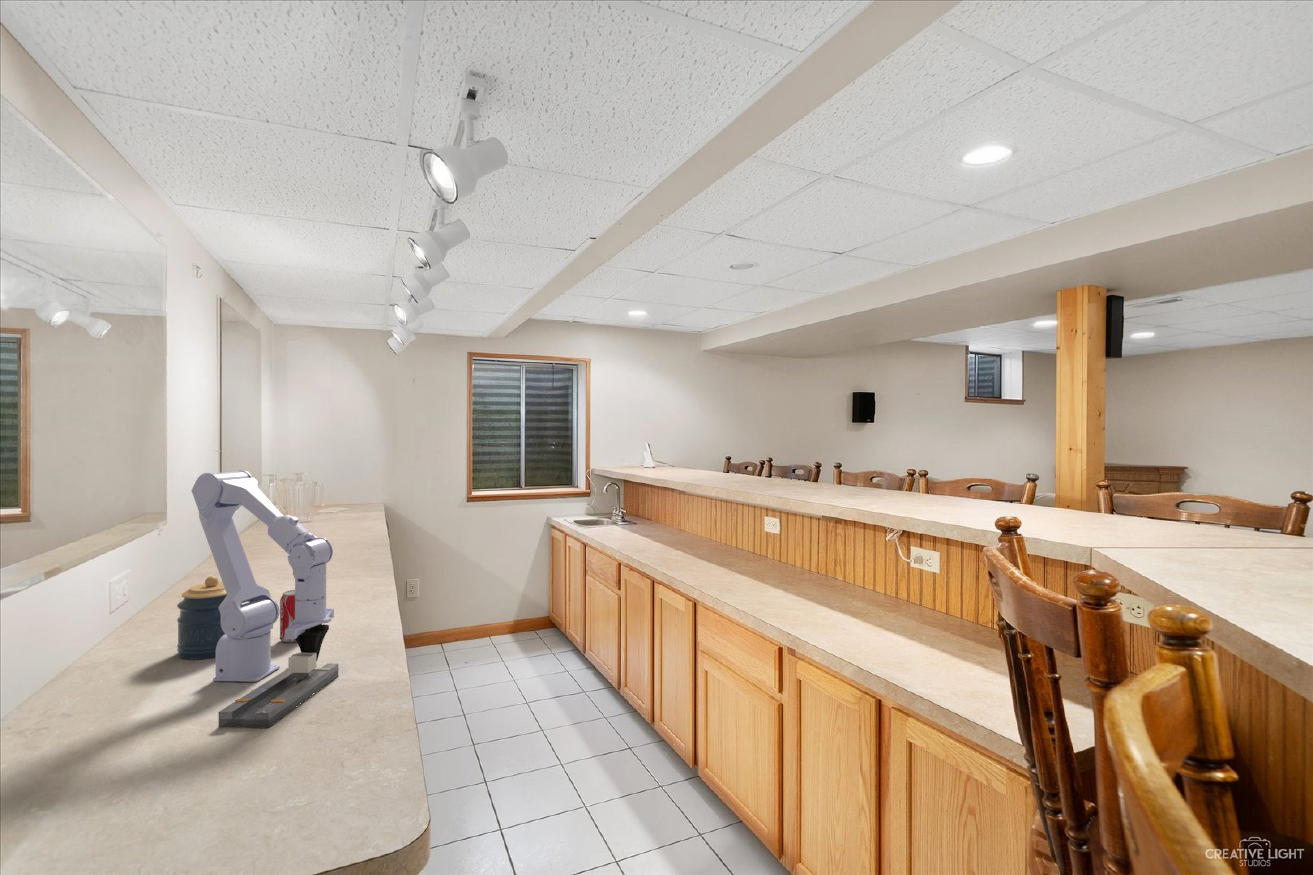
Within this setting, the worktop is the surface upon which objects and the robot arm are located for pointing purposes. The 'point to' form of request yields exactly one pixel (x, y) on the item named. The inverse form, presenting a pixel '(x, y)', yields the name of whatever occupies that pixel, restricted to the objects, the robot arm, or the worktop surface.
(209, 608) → the canister
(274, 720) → the grey slider rail
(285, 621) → the beverage can
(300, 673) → the fader knob
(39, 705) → the worktop surface
